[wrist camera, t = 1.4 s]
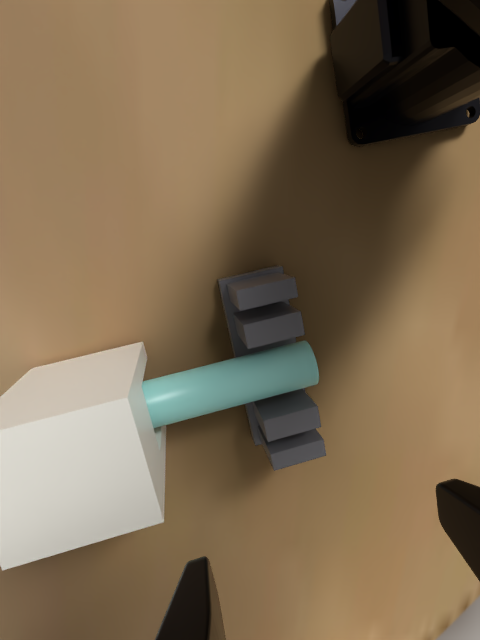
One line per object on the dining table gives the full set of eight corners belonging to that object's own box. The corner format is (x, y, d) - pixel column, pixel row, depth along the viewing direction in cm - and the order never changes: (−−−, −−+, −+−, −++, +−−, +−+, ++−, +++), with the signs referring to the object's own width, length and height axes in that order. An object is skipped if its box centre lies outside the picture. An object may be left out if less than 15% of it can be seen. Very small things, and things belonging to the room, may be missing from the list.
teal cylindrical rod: (285, 305, 20) (318, 323, 15) (300, 387, 20) (335, 427, 16) (-279, 441, 17) (-440, 513, 12) (-230, 530, 17) (-362, 626, 13)
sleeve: (143, 341, 18) (127, 397, 12) (166, 426, 19) (164, 522, 13) (31, 368, 18) (-50, 443, 11) (61, 455, 19) (2, 570, 12)
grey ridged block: (278, 265, 19) (301, 270, 16) (307, 422, 21) (333, 457, 18) (217, 279, 19) (227, 287, 15) (252, 437, 21) (268, 476, 17)
